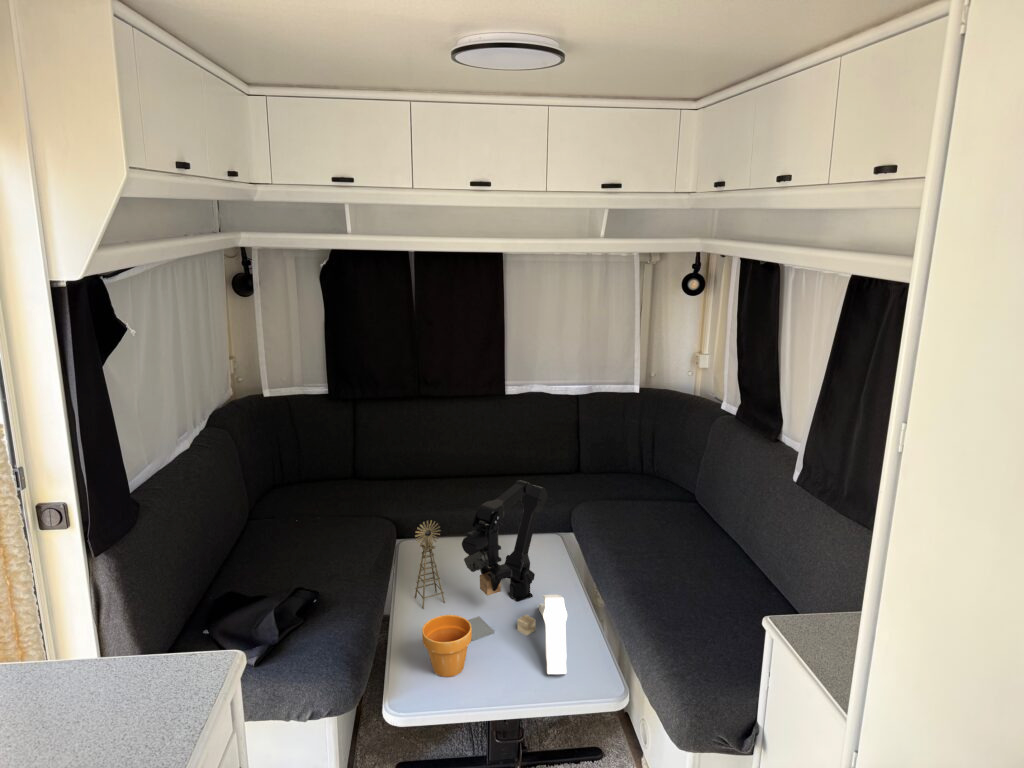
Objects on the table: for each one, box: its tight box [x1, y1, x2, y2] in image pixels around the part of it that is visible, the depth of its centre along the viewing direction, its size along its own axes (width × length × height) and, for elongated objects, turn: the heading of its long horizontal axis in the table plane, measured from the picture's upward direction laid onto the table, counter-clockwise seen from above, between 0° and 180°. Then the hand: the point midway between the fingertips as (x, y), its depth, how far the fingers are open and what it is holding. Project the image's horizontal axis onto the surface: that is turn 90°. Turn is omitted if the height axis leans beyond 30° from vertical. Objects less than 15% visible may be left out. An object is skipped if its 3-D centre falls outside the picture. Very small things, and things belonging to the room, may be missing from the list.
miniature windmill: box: [414, 519, 446, 610], centre depth 235 cm, size 9×8×30 cm
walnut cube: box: [479, 572, 502, 596], centre depth 226 cm, size 5×5×5 cm
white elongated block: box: [538, 594, 568, 675], centre depth 214 cm, size 7×33×21 cm, turn 1°
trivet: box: [467, 616, 495, 642], centre depth 221 cm, size 8×10×1 cm
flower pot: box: [421, 614, 472, 678], centre depth 201 cm, size 14×14×13 cm
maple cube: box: [517, 614, 536, 637], centre depth 220 cm, size 4×4×4 cm
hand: (490, 587), depth 226 cm, fingers closed on walnut cube, 5 cm apart
